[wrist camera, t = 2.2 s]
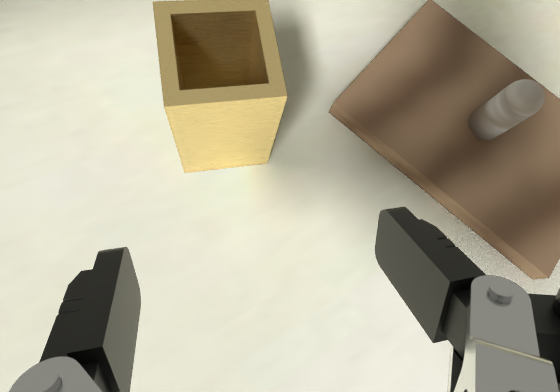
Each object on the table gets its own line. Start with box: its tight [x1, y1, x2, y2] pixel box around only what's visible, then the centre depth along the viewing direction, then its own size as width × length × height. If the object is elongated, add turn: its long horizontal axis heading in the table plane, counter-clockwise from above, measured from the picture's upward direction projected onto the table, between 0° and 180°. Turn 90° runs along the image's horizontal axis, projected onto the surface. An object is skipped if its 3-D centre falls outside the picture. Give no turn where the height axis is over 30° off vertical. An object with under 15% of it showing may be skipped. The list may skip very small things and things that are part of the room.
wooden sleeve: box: [153, 0, 287, 173], centre depth 23 cm, size 6×6×10 cm
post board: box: [329, 0, 560, 279], centre depth 28 cm, size 20×14×7 cm
